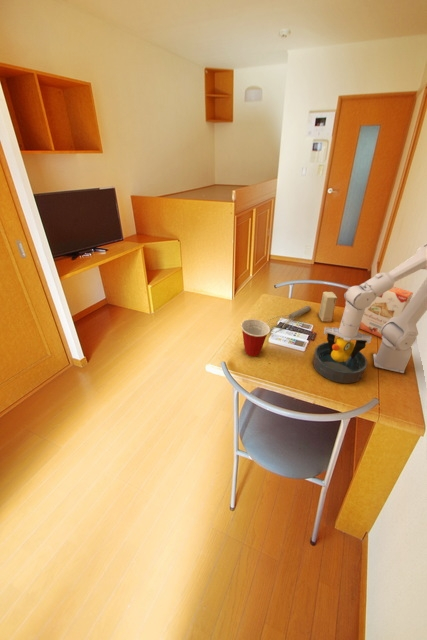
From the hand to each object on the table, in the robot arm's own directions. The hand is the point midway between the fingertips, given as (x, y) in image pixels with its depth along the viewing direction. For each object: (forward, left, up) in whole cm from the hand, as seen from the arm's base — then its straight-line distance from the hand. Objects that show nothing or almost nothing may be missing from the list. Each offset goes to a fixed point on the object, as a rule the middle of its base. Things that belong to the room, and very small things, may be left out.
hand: (341, 354), depth 102 cm
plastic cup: (+31, +3, -6) cm, 31 cm away
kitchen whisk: (+22, -25, -6) cm, 33 cm away
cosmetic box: (+7, -34, -6) cm, 35 cm away
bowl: (0, 0, -6) cm, 6 cm away
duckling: (0, 0, -3) cm, 3 cm away
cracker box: (-14, -30, -6) cm, 34 cm away
